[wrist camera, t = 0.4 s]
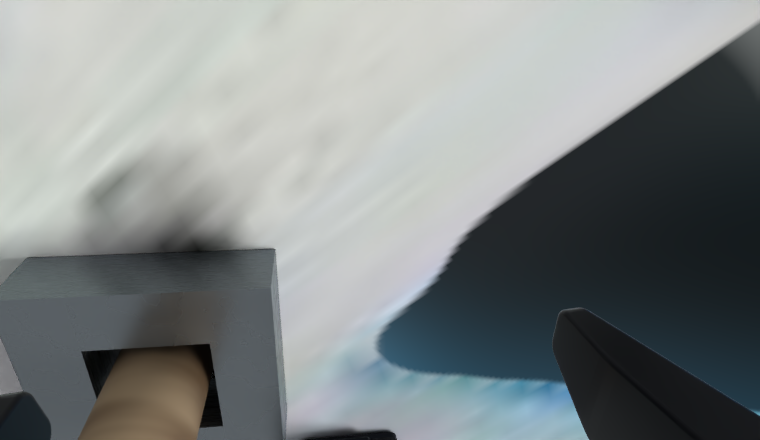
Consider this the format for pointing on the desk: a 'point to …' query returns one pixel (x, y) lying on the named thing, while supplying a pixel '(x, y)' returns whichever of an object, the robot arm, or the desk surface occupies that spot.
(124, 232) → the desk surface
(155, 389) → the end plug
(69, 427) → the housing
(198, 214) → the desk surface
